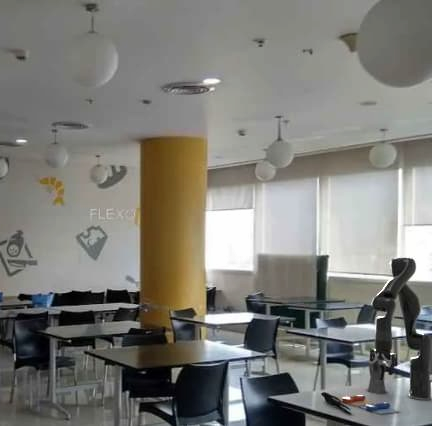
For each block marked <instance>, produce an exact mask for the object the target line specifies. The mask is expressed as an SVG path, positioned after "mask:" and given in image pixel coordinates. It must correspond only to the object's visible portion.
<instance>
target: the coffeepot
mask: <svg viewBox="0 0 432 426" xmlns="http://www.w3.org/2000/svg"><path fill="white" fill-rule="evenodd" d="M386 368H387V363H386V362H384V361H381V360H380V361H379V362H378V371H377V372H375V371H374V369H373V362H372V361H368V371H369V376H370V378H369V383H368V388H367V391H368V392H370V393H373V394H386V385H385V374H386Z"/></svg>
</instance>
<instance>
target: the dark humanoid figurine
mask: <svg viewBox="0 0 432 426" xmlns="http://www.w3.org/2000/svg"><path fill="white" fill-rule="evenodd" d="M320 396H322V397H323V398H324V401H325V403H327V404H330V405H332V406H334V407H336V408H337V409H339V410H341V411H343V412H344V413H346V414H349V415H352V413H351V412H350V411H351V408H350V407H349V406H347V405H345V404H344V403H343V402H342V401H340V399H339V398H340V397H337V396H335V395H333V394H330V393H328V392H326V391H323V392H321V395H320ZM336 399H337V400H336Z"/></svg>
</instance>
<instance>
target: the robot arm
mask: <svg viewBox="0 0 432 426" xmlns="http://www.w3.org/2000/svg"><path fill="white" fill-rule="evenodd" d="M389 264H390V265H389V266H390V271H391V275H392V278H391V279H389V280H388V281H387V283H385V285H384V287H383V288H382V290H381V291H380V292H378V293H377V294H376V295H375V296H374V297H373V298H372V301H371V308H372V310H374V311H375V312H377V313H378V312H380V313H385V315H384V316H377V317H376V318H375V331H374V348H370V349H369V362H371V361H372V362H373V369H374V371H375V372H377V371H378V362H379V361H380V362H381V361H382V362H384V363H386V365H387V366H388V369H387V371H388V372H387V374H388V376H393V375H394V373H395V372H394V371H395V370H394V369H395V367H398V353H393V352H392V349H393V332H392V329H393V327H392V325H393V324H392V322H393V317H394V314H395V311H396V307H397V304H396V303H397V302H396V301H395V300H397V298H398V301H399V306H400V311H401V313H402V320H403V324H404V333H405V341H406V344H407V347H408V349H409V350H411V351H415V352H419V354H418V355H417V356H414V357H411V358H410V359H409V389H408V393H409V394H408V395H409V398H410V399H411V398H412V399H415V400H419V401H430V400H431V398H432V381H431V361H432V337H431V336H430V335H429V334H426V333H419V332H417V328H416V323H417V321H418V318H419V316H420V314H421V312H422V311H421V310H422V307H421V303H420V299H419V296H418V295H417V293H416V292H415V291H414V290H413V289H412V288H411V287H410V286H409V284H407V283H408V282H409V280H410V279H411V278H412V277H413V276H414V275H415V273H416V271H417V263H416V261H415V259H414V258H412V257H393V258H391V260H390V263H389Z"/></svg>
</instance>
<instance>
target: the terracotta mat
mask: <svg viewBox="0 0 432 426" xmlns="http://www.w3.org/2000/svg"><path fill="white" fill-rule="evenodd" d="M338 398H339V399H340V401H341V402H342V397H338ZM335 400H337V399H335ZM337 401H338V400H337ZM347 404H348V405H350V406H354V407H362V406H366V405H368V404H370V405H374V404H375V403H374V402H370V401H368V400H363V401H353V403H347Z"/></svg>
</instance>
